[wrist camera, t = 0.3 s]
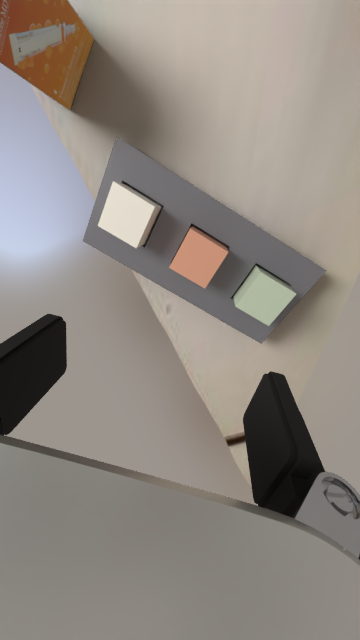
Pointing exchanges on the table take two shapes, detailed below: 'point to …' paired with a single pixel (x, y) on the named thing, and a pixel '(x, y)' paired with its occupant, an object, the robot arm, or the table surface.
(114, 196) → the cream key
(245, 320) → the key console
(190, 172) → the table surface
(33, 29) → the small box
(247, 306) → the sage key
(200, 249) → the terracotta key
